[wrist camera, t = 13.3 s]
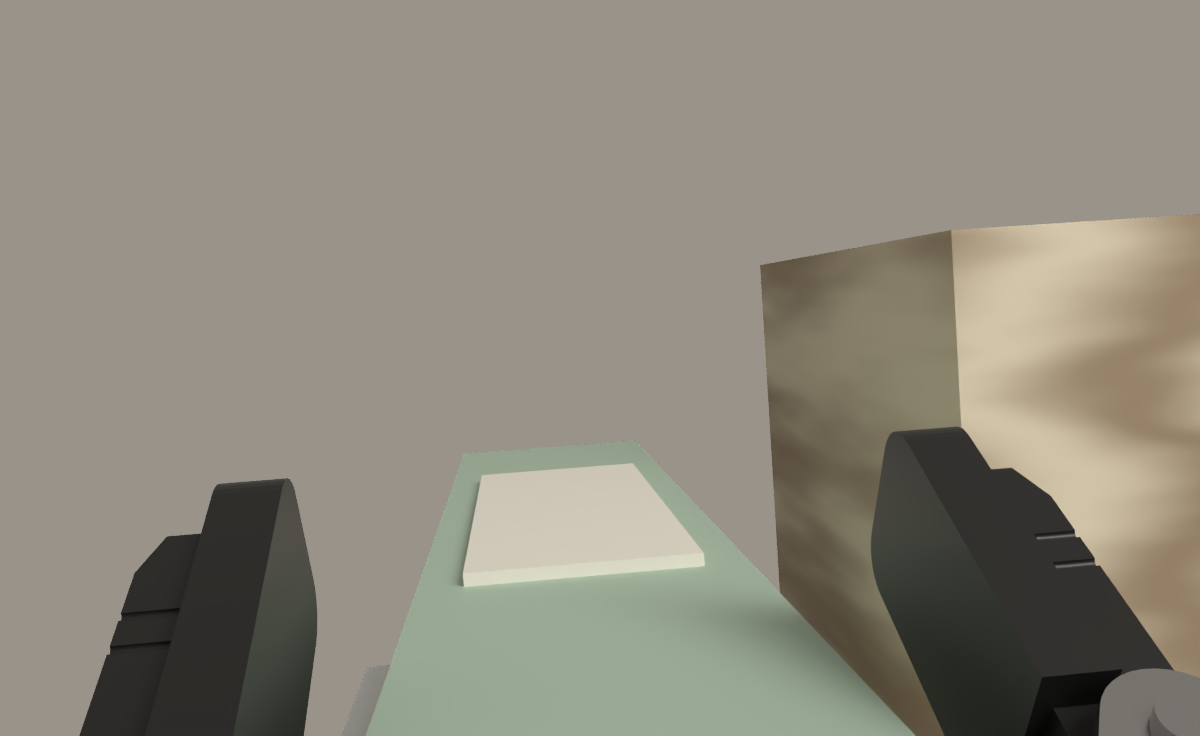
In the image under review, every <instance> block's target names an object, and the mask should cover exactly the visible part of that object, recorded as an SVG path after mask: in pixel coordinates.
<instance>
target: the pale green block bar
mask: <svg viewBox="0 0 1200 736" xmlns="http://www.w3.org/2000/svg"><path fill="white" fill-rule="evenodd" d="M366 736H916V735H915V734H914V733H913V732H912V731H911V730H910V729H909V728H908V727H907V726H906V725H905V724H904V723H903V722H902V721H901V720H900V719H899V718H898V716H897V715H896V714H895V713H894V712H893V711H892V710H891V709H890V708H889V707H888V706H887V705H886V704H885V703H884V702H883V701H882V700H881V699H880V698H879V696H878V695H877V694H876V693H875V692H874V691H873V690H872V689H871V688H870V687H869V686H868V685H867V684H866V683H865V682H864V681H863V680H862V679H861V678H860V677H859V675H858V674H857V673H856V672H855V671H854V670H853V669H852V668H851V667H850V666H849V665H848V664H847V663H846V662H845V661H844V660H843V659H842V658H841V657H840V655H839V654H838V653H837V652H836V651H835V650H834V649H833V648H832V647H831V646H830V645H829V644H828V643H827V642H826V641H825V640H824V639H823V638H822V637H821V635H820V634H819V633H818V632H817V631H816V630H815V629H814V628H813V627H812V626H811V625H810V624H809V623H808V622H807V621H806V620H805V619H804V618H803V617H802V615H801V614H800V613H799V612H798V611H797V610H796V609H795V608H794V607H793V606H792V605H791V604H790V603H789V602H788V601H787V600H786V599H785V598H784V597H783V596H782V594H781V593H780V592H778V590H777V589H776V588H775V587H774V586H773V585H772V584H771V583H770V582H769V581H768V580H767V579H766V578H765V577H764V576H763V575H762V573H761V572H760V571H759V570H758V569H756V567H755V566H754V565H753V564H752V563H751V562H750V561H749V560H748V559H747V558H746V557H745V556H744V555H743V553H741V551H740V550H739V549H738V548H737V547H736V546H735V545H734V544H733V543H732V542H731V541H730V540H729V539H728V538H727V537H726V536H725V535H724V533H723V532H722V531H721V530H720V529H719V528H718V527H717V526H716V525H715V524H714V523H713V522H712V521H711V520H710V519H709V518H708V517H707V516H706V515H705V514H704V512H702V510H701V509H700V508H699V507H698V506H697V505H696V504H695V503H694V502H693V501H692V500H691V499H690V498H689V497H688V496H687V495H686V493H684V492H683V490H682V489H681V488H680V487H679V486H678V485H677V484H676V483H675V482H674V481H673V480H672V479H671V478H670V477H669V476H668V475H667V474H666V472H665V471H664V470H663V469H662V468H661V467H660V466H659V465H658V464H657V463H656V462H655V461H654V460H653V459H652V458H651V457H650V456H649V455H648V454H647V453H646V451H644V449H643V448H642V447H641V446H640V445H639V444H638V443H637V442H636V441H623V442H611V443H597V444H584V445H571V446H558V447H545V448H533V449H520V450H507V451H494V452H481V453H469V454H464V455H463V458H462V461H461V464H460V467H459V469H458V472H457V475H456V478H455V481H454V484H453V487H452V490H451V492H450V495H449V499H448V501H447V504H446V507H445V510H444V512H443V515H442V518H441V521H440V524H439V527H438V530H437V533H436V535H435V538H434V541H433V545H432V547H431V550H430V553H429V556H428V558H427V561H426V564H425V567H424V570H423V573H422V576H421V578H420V581H419V584H418V587H417V590H416V593H415V596H414V599H413V601H412V604H411V607H410V610H409V613H408V616H407V619H406V621H405V625H404V627H403V630H402V633H401V636H400V639H399V641H398V644H397V647H396V650H395V653H394V656H393V659H392V662H391V664H390V667H389V670H388V673H387V676H386V679H385V682H384V684H383V687H382V690H381V693H380V696H379V699H378V702H377V705H376V707H375V710H374V713H373V716H372V719H371V722H370V725H369V727H368V730H367V733H366Z"/></svg>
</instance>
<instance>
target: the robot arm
mask: <svg viewBox="0 0 1200 736" xmlns="http://www.w3.org/2000/svg"><path fill="white" fill-rule="evenodd" d="M871 559H872V567H873V572H874V577H875V581H876V584H877V587H878V590H879V592H880V595H881V597H882V599H883V601H884V604H885V606H886V608H887V610H888V612H889V615H890V617H891V619H892V621H893V623H894V626H895V628H896V630H897V632H898V634H899V637H900V639H901V641H902V643H903V645H904V648H905V650H906V652H907V654H908V656H909V659H910V661H911V663H912V665H913V667H914V670H915V672H916V674H917V676H918V679H919V681H920V683H921V685H922V687H923V690H924V692H925V694H926V696H927V698H928V701H929V703H930V705H931V707H932V709H933V712H934V714H935V716H936V718H937V720H938V723H939V725H940V727H941V729H942V731H943V734H944V736H1200V678H1199V677H1196V676H1193V675H1190V674H1187V673H1183V672H1179V671H1175V670H1174V669H1173V668H1172V666H1171V665H1170V664H1169V662H1168V661H1167V659H1166V658H1165V657H1164V655H1163V654H1162V652H1161V651H1160V650H1159V648H1158V647H1157V645H1156V644H1155V642H1154V641H1153V640H1152V638H1151V637H1150V635H1149V634H1148V633H1147V631H1146V630H1145V628H1144V627H1143V625H1142V624H1141V623H1140V621H1139V620H1138V618H1137V617H1136V616H1135V614H1134V613H1133V611H1132V610H1131V608H1130V607H1129V606H1128V604H1127V603H1126V601H1125V600H1124V599H1123V597H1122V596H1121V594H1120V593H1119V592H1118V590H1117V589H1116V587H1115V586H1114V584H1113V583H1112V582H1111V580H1110V579H1109V577H1108V576H1107V575H1106V573H1105V572H1104V570H1103V569H1102V567H1101V566H1100V565H1099V566H1096V564H1095V558H1094V556H1093V555H1092V553H1091V552H1090V550H1089V549H1088V548H1087V546H1086V545H1085V543H1084V542H1083V541H1082V539H1081V538H1080V537H1076V535H1075V529H1074V528H1073V526H1072V525H1071V524H1070V522H1069V521H1068V519H1067V518H1066V517H1065V515H1064V514H1063V512H1062V511H1061V509H1060V508H1059V507H1058V505H1057V504H1056V502H1055V501H1054V500H1053V498H1052V497H1051V496H1050V495H1049V494H1048V493H1046V492H1045V491H1043V490H1042V489H1041V488H1039V487H1038V486H1037V485H1035V484H1034V483H1032V482H1031V481H1030V480H1028V479H1027V478H1025V477H1024V476H1023V475H1021V474H1020V473H1019V472H1017V471H1016V470H1014V469H1013V468H1001V469H991V468H990V467H989V465H988V464H987V462H986V460H985V459H984V457H983V456H982V454H981V453H980V451H979V450H978V448H977V447H976V445H975V444H974V442H973V441H972V439H971V438H970V436H969V435H968V433H967V432H966V431H965V430H964V429H963V428H961V427H944V428H932V429H919V430H907V431H895V432H892V433H891V434H890V435H889V437H888V439H887V442H886V445H885V450H884V457H883V463H882V470H881V476H880V482H879V489H878V495H877V502H876V508H875V514H874V521H873V527H872V534H871ZM316 605H317V604H316V593H315V586H314V580H313V576H312V571H311V566H310V561H309V556H308V552H307V547H306V542H305V537H304V532H303V528H302V523H301V519H300V513H299V509H298V504H297V499H296V495H295V490H294V487H293V485H292V482H291V481H290V479H288V478H287V479H275V480H263V481H250V482H237V483H225V484H218V485H217V486H216V487H215V489H214V491H213V494H212V497H211V501H210V504H209V508H208V511H207V515H206V518H205V522H204V526H203V529H202V533H201V534H193V535H180V536H169V537H166V538H165V540H164V541H163V542H162V543H161V544H160V545H159V546H158V547H157V549H156V550H155V551H154V552H153V553H152V554H151V555H150V556H149V558H148V559H147V560H146V561H145V562H144V563H143V564H142V565H141V567H140V568H139V569H138V570H137V571H136V572H135V574H134V577H133V580H132V583H131V586H130V588H129V591H128V594H127V597H126V600H125V603H124V606H123V609H122V612H121V615H122V619H121V621H118V624H117V627H116V630H115V633H114V636H113V639H112V642H111V645H110V655H107V656H106V659H105V662H104V665H103V668H102V671H101V674H100V677H99V680H98V683H97V686H96V689H95V692H94V695H93V698H92V701H91V703H90V707H89V709H88V712H87V715H86V718H85V721H84V724H83V727H82V730H81V733H80V736H304V729H305V721H306V714H307V706H308V699H309V691H310V684H311V677H312V669H313V662H314V654H315V647H316V638H317V637H316V636H317V606H316Z"/></svg>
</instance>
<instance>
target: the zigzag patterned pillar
mask: <svg viewBox="0 0 1200 736" xmlns="http://www.w3.org/2000/svg"><path fill="white" fill-rule="evenodd" d="M760 268H761V285H762V301H763V318H764V335H765V350H766V368H767V383H768V401H769V417H770V433H771V450H772V466H773V484H774V499H775V517H776V533H777V549H778V566H779V583H780V593H781V594H782V596H783V597H784V598H785V599H786V600H787V601H788V602H789V603H790V604H791V605H792V606H793V607H794V608H795V609H796V610H797V611H798V612H799V613H800V614H801V615H802V617H803V618H804V619H805V620H806V621H807V622H808V623H809V624H810V625H811V626H812V627H813V628H814V629H815V630H816V631H817V632H818V633H819V634H820V635H821V637H822V638H823V639H824V640H825V641H826V642H827V643H828V644H829V645H830V646H831V647H832V648H833V649H834V650H835V651H836V652H837V653H838V654H839V655H840V657H841V658H842V659H843V660H844V661H845V662H846V663H847V664H848V665H849V666H850V667H851V668H852V669H853V670H854V671H855V672H856V673H857V674H858V675H859V677H860V678H861V679H862V680H863V681H864V682H865V683H866V684H867V685H868V686H869V687H870V688H871V689H872V690H873V691H874V692H875V693H876V694H877V695H878V696H879V698H880V699H881V700H882V701H883V702H884V703H885V704H886V705H887V706H888V707H889V708H890V709H891V710H892V711H893V712H894V713H895V714H896V715H897V716H898V718H899V719H900V720H901V721H902V722H903V723H904V724H905V725H906V726H907V727H908V728H909V729H910V730H911V731H912V732H913V733H914V734H915V735H916V736H944V734H943V731H942V729H941V727H940V725H939V723H938V720H937V718H936V716H935V714H934V712H933V709H932V707H931V705H930V703H929V701H928V698H927V696H926V694H925V692H924V690H923V687H922V685H921V683H920V681H919V679H918V676H917V674H916V672H915V670H914V667H913V665H912V663H911V661H910V659H909V656H908V654H907V652H906V650H905V648H904V645H903V643H902V641H901V639H900V637H899V634H898V632H897V630H896V628H895V626H894V623H893V621H892V619H891V617H890V615H889V612H888V610H887V608H886V606H885V604H884V601H883V599H882V597H881V595H880V592H879V590H878V587H877V584H876V581H875V577H874V572H873V567H872V559H871V534H872V527H873V521H874V514H875V508H876V502H877V495H878V489H879V482H880V476H881V470H882V463H883V457H884V450H885V445H886V442H887V439H888V437H889V435H890V434H891V433H892V432H895V431H907V430H919V429H932V428H944V427H961V428H963V429H964V430H965V431H966V432H967V433H968V435H969V436H970V438H971V439H972V441H973V442H974V444H975V445H976V447H977V448H978V450H979V451H980V453H981V454H982V456H983V457H984V459H985V460H986V462H987V464H988V465H989V467H990V468H991V469H1001V468H1013V469H1014V470H1016V471H1017V472H1019V473H1020V474H1021V475H1023V476H1024V477H1025V478H1027V479H1028V480H1030V481H1031V482H1032V483H1034V484H1035V485H1037V486H1038V487H1039V488H1041V489H1042V490H1043V491H1045V492H1046V493H1048V494H1049V495H1050V496H1051V497H1052V498H1053V500H1054V501H1055V502H1056V504H1057V505H1058V507H1059V508H1060V509H1061V511H1062V512H1063V514H1064V515H1065V517H1066V518H1067V519H1068V521H1069V522H1070V524H1071V525H1072V526H1073V528H1074V529H1075V535H1076V537H1080V538H1081V539H1082V541H1083V542H1084V543H1085V545H1086V546H1087V548H1088V549H1089V550H1090V552H1091V553H1092V555H1093V556H1094V558H1095V564H1096V566H1099V565H1100V566H1101V567H1102V569H1103V570H1104V572H1105V573H1106V575H1107V576H1108V577H1109V579H1110V580H1111V582H1112V583H1113V584H1114V586H1115V587H1116V589H1117V590H1118V592H1119V593H1120V594H1121V596H1122V597H1123V599H1124V600H1125V601H1126V603H1127V604H1128V606H1129V607H1130V608H1131V610H1132V611H1133V613H1134V614H1135V616H1136V617H1137V618H1138V620H1139V621H1140V623H1141V624H1142V625H1143V627H1144V628H1145V630H1146V631H1147V633H1148V634H1149V635H1150V637H1151V638H1152V640H1153V641H1154V642H1155V644H1156V645H1157V647H1158V648H1159V650H1160V651H1161V652H1162V654H1163V655H1164V657H1165V658H1166V659H1167V661H1168V662H1169V664H1170V665H1171V666H1172V668H1173V669H1174V670H1175V671H1179V672H1183V673H1187V674H1190V675H1193V676H1196V677H1199V678H1200V214H1197V215H1181V216H1166V217H1149V218H1134V219H1118V220H1103V221H1087V222H1071V223H1057V224H1040V225H1025V226H1010V227H994V228H978V229H964V230H950V231H945V232H939V233H934V234H928V235H923V236H917V237H912V238H906V239H902V240H895V241H890V242H885V243H879V244H874V245H868V246H863V247H858V248H852V249H847V250H841V251H836V252H830V253H825V254H819V255H814V256H809V257H803V258H798V259H792V260H787V261H782V262H776V263H770V264H765V265H761V266H760Z"/></svg>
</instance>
